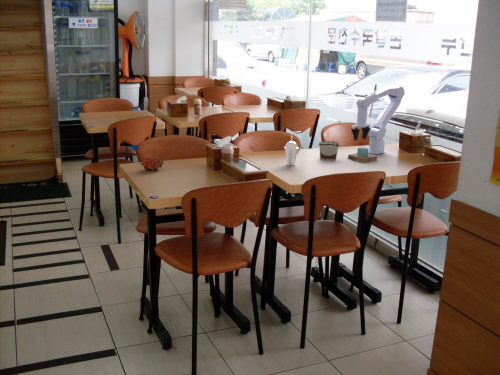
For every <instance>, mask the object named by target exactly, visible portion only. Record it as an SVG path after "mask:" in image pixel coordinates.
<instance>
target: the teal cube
mask: <svg viewBox="0 0 500 375" xmlns="http://www.w3.org/2000/svg"><path fill="white" fill-rule="evenodd" d="M368 151H369V147H364V146H361V147H357V155H359V156H363V157H364V156H368V154H369V153H368Z"/></svg>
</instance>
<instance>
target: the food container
mask: <svg viewBox="0 0 500 375" xmlns="http://www.w3.org/2000/svg"><path fill="white" fill-rule="evenodd" d="M318 146H319V158H320V160H327V161H328V160H329V161H330V160H332V161H335V160H336V161H337V155H338V151H339V147H340V143H339V142H338V141H334V140H333V141H331V140H324V141H323V140H321V141H320V142H319V143H318Z"/></svg>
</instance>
